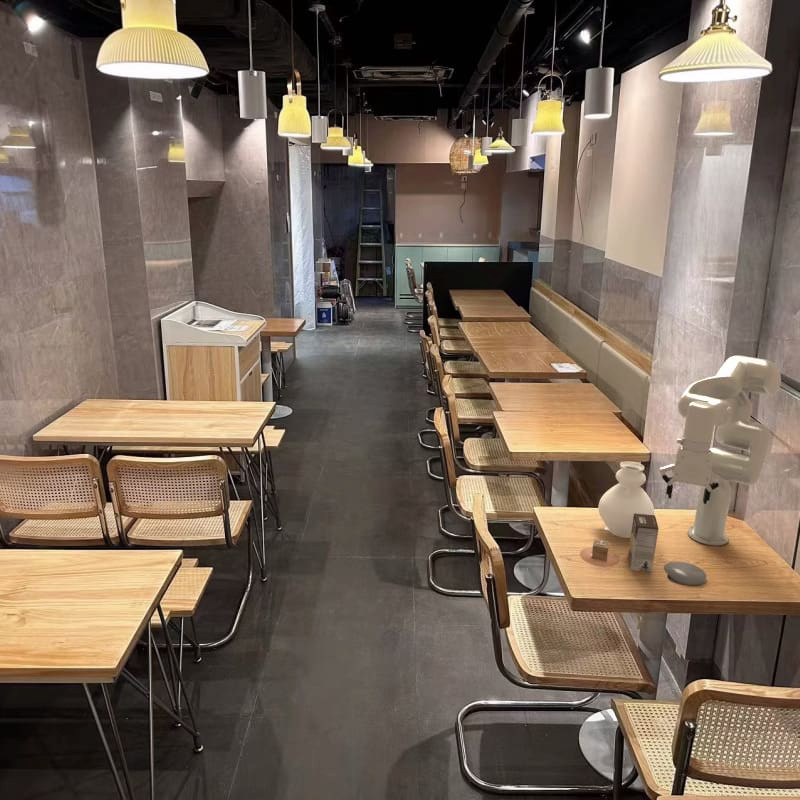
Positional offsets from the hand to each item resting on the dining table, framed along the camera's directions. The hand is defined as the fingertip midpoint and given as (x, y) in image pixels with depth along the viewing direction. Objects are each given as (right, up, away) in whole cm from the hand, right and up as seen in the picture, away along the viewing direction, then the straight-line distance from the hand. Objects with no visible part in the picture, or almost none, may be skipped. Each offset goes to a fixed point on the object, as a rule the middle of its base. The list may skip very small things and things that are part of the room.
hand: (686, 499), depth 204 cm
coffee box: (-11, -22, +10) cm, 27 cm away
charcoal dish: (+2, -24, +6) cm, 25 cm away
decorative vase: (-9, -16, +31) cm, 36 cm away
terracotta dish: (-22, -21, +13) cm, 33 cm away
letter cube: (-22, -20, +13) cm, 32 cm away
